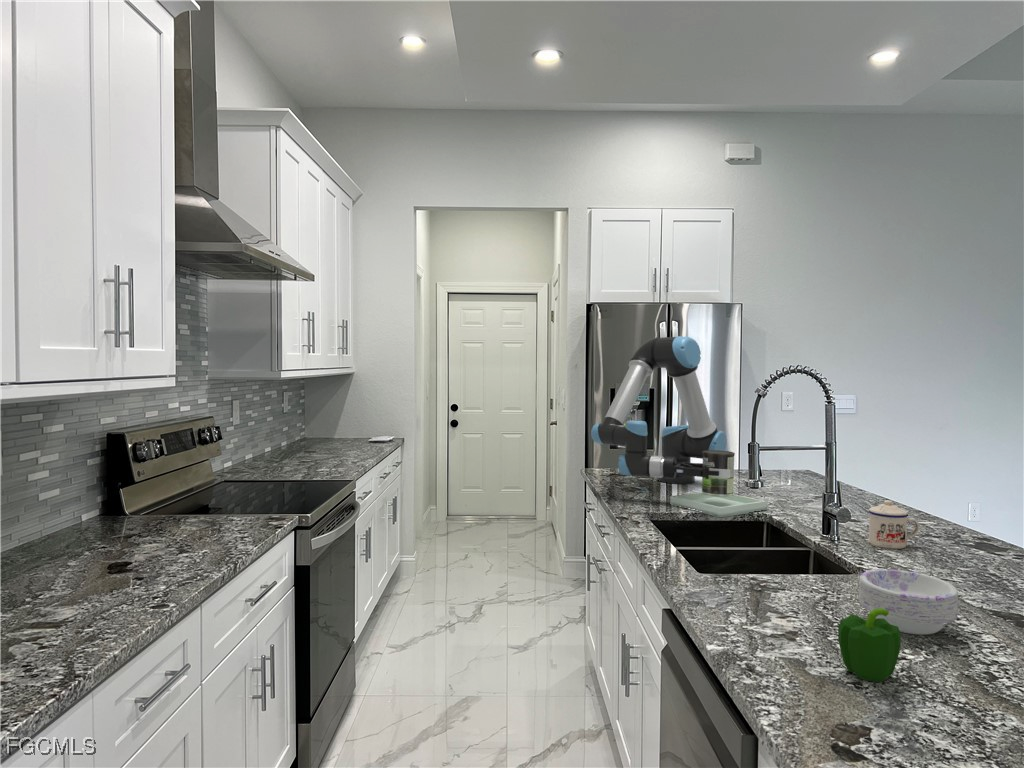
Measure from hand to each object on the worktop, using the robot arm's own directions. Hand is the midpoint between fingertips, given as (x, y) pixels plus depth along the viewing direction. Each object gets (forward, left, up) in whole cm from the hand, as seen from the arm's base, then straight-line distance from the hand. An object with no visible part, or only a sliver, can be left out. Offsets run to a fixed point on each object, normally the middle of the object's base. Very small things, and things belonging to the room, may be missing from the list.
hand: (731, 471), depth 216 cm
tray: (+2, -3, -12) cm, 13 cm away
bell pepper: (+76, +93, -13) cm, 121 cm away
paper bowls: (+51, +85, -13) cm, 100 cm away
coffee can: (+3, -3, -8) cm, 9 cm away
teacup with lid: (-2, +53, -13) cm, 54 cm away
